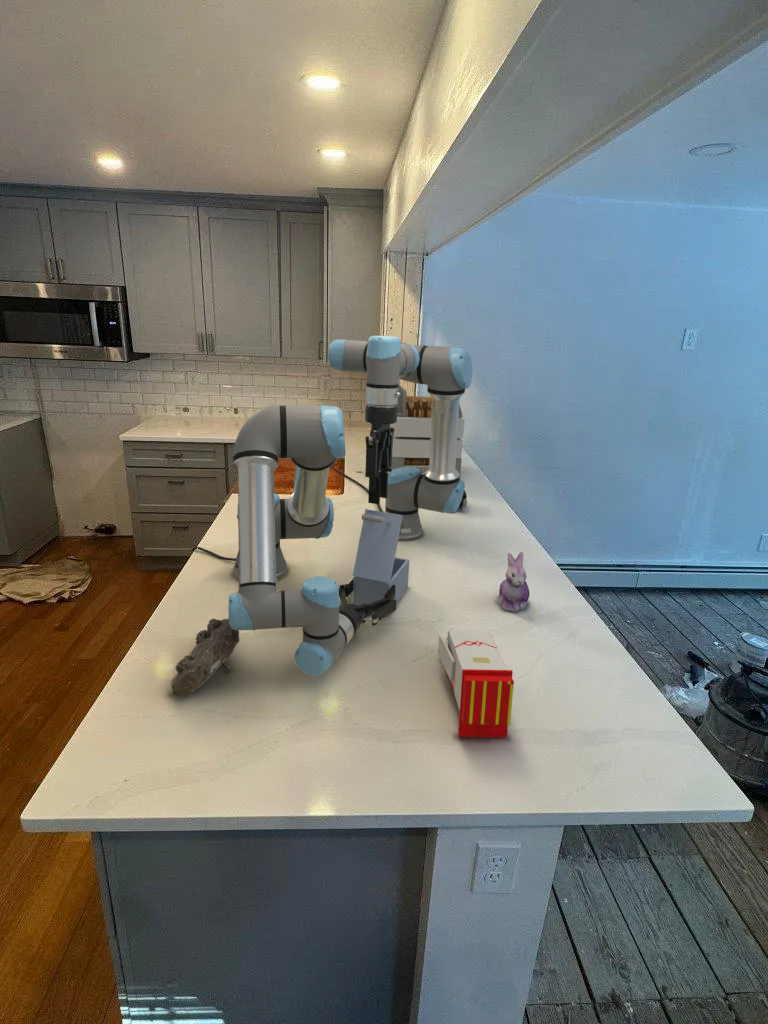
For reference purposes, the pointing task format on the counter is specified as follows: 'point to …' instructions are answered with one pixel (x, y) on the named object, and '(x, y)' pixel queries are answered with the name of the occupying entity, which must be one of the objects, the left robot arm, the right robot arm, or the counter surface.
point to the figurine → (514, 585)
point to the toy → (478, 682)
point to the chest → (381, 584)
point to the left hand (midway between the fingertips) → (374, 585)
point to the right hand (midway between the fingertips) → (377, 499)
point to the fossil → (205, 656)
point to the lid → (377, 545)
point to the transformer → (417, 432)
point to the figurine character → (463, 501)
